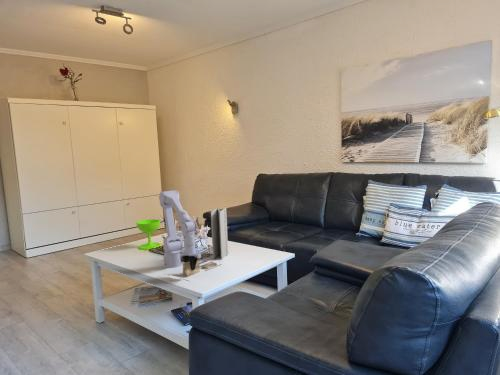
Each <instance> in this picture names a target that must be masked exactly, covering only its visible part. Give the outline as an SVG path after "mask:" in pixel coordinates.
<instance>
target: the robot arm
mask: <svg viewBox="0 0 500 375" xmlns="http://www.w3.org/2000/svg"><path fill="white" fill-rule="evenodd" d="M158 199H159V204H160V207H162V209H163V216H164V222H165V228H166V235H167V236H166V237H164V239H163V240H162V241H163V245H162V247H163V248H162V249H163V251H164V254H163V268H165V269H169V268H178V267H180V266H181V265H182V263H181V262H182V261H181V258H182V260H183V262H184V263H187V262H190V265H191V270H195V267H196V263H197V260H199V259H201V258H202V254H201V253H199V252H197V251H196V238H195V236H196V235H195V234H196V233H195V232H196V230H197V222H196V221H195V220H193V219H192V218H191V217H190V216H189V213H188V212H187V210H184V209H183V208H184V207H183V206H182V203H181V202H180V192H179V190H178V189H175V190H167V191H166V190H165V191H160V193H159V195H158ZM173 209H174V210H175V212H176V218H177V220H178V221H179V224H180V226H181V227H180V229H181V233H182V236H183V241H182V236H179V235H177V230H176V226H175V225H176V224H175V219H174V212H173ZM183 248H184V249H183ZM181 255H183V256H181Z"/></svg>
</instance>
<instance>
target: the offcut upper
mask: <svg viewBox="0 0 500 375" xmlns="http://www.w3.org/2000/svg"><path fill="white" fill-rule="evenodd" d="M210 262H211V263H210ZM210 262H208V263H209V264H207V263H205V264H206V265H204V264H203V265H204V266H202V265H201V266H202V267H201V268H205V269H206V270H208V269H209V270H210V268H213V266H214V267H215V265H216V266H218V264H217V262H213V261H210Z"/></svg>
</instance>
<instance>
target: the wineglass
mask: <svg viewBox="0 0 500 375" xmlns="http://www.w3.org/2000/svg"><path fill="white" fill-rule="evenodd" d="M160 224H161V220H160V219H157V218H156V219H154V218H153V219H152V218H151V219H143V220H138V221H136V227H137V228H138V230H139V231H140V232H142V233H144V234H147V240H148V241H147V242H146V243H143V244H140V245H139V246H138V247H137V248H138V250H141V251H150V250H149V249H151V248H156V247H159V246H161V247H163V245H162V244H161V243H159V242H152V236H151V235H152V234H151V233H155V232H156V231H157V230H158V228H159V227H160Z"/></svg>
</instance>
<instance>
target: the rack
mask: <svg viewBox="0 0 500 375" xmlns="http://www.w3.org/2000/svg"><path fill="white" fill-rule="evenodd" d="M206 262H207V263H206ZM211 262H212V261H209V262H208V260H204V261H200V262H199V266H200V268H202V266H204V265H206V264H209V263H211ZM203 263H205V264H203ZM201 264H202V265H201ZM219 266H222V264H217V265H216V266H214V267H211V268H209V269H206V270H204V271H205V272H207V271H209V270H212V269H215V268H217V267H219Z"/></svg>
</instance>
